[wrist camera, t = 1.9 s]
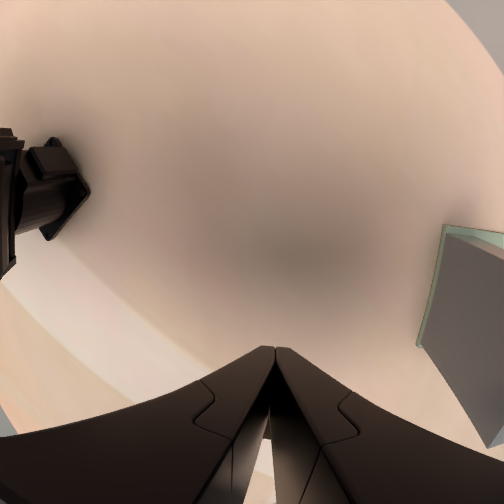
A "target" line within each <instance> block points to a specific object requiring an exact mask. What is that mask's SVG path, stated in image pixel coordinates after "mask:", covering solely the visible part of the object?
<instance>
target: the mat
mask: <svg viewBox="0 0 504 504" xmlns="http://www.w3.org/2000/svg"><path fill="white" fill-rule="evenodd" d="M446 233H451V234H458V235H466V236H473V237H477V238H480V239H482V240H484V241H487V242H489V243H491V244H494V245H496V246H498V247H500V248H503V249H504V234H503V233H497V232H491V231H485V230H478V229H472V228H465V227H458V226H451V225H444V224H443V229H442V235H441V242H440V248H439V253H438V258H437V264H436V269H435V273H434V278H433V283H432V287H431V291H430V295H429V299H428V303H427V307H426V311H425V315H424V318H423V322H422V325H421V329H420V332H419V335H418V339H417V342H416V346H417V347H418V348H423V347H422V345H421V344H420V342H421V339H422V336H423V332H424V329H425V326H426V322H427V319H428V315H429V312H430V308H431V304H432V300H433V296H434V292H435V288H436V284H437V279H438V275H439V270H440V265H441V260H442V255H443V249H444V244H445V238H446Z"/></svg>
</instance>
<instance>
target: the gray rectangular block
mask: <svg viewBox="0 0 504 504" xmlns="http://www.w3.org/2000/svg"><path fill="white" fill-rule="evenodd" d="M420 344H421V345H422V347H423V348H424V349H425V351H426V352H427V354H428V355H429V357H430V358H431V360H432V361H433V362H434V364H435V365H436V367H437V368H438V370H439V371H440V373H441V374H442V376H443V377H444V379H445V380H446V382H447V383H448V385H449V387H450V388H451V390H452V391H453V393H454V394H455V396H456V397H457V399H458V401H459V402H460V404H461V405H462V407H463V409H464V410H465V412H466V414H467V415H468V417H469V418H470V420H471V422H472V423H473V425H474V427H475V429H476V430H477V432H478V434H479V435H480V437H481V439H482V441H483V442H484V444H485V446H486V448H487V449H489V448H492V447H494V446H497V445H500V444H503V443H504V249H503V248H500V247H498V246H496V245H494V244H491V243H489V242H487V241H484V240H482V239H480V238H477V237H473V236H466V235H458V234H451V233H446V238H445V244H444V249H443V255H442V260H441V265H440V270H439V275H438V279H437V284H436V288H435V292H434V296H433V300H432V304H431V308H430V312H429V315H428V319H427V322H426V326H425V329H424V332H423V336H422V339H421V342H420Z"/></svg>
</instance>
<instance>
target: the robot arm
mask: <svg viewBox="0 0 504 504" xmlns="http://www.w3.org/2000/svg"><path fill="white" fill-rule="evenodd" d="M53 141H54V144H52V143H53ZM24 143H25V140H17V137H15V136H13V133H12V130H11V128H0V280H1V279H2V277H3V276H4V275H5V274H6V273H7V272H8V271H9V270H10V269H11V268H12V267H13V266H14V265H15V264H16V256H15V235H18V234H21V233H24V232H27V231H30V230H33V229H36V228H39V229H40V231H41V233H42V234H43V236H44V238H45V239H46V240H47V241H50V240H53V239H54V237H55V236H56V235H57V234H58V232H59V231H60V230H61V229H62V227H63V226H64V225H65V224H66V222H67V221H68V220H69V219H70V218H71V216H72V215H73V214H74V213H75V212H76V210H77V209H78V208H79V207H80V206H81V205H82V203H83V202H84V201H85V200H86V199H87V198H88V196H89V194H90V190H89V188H88V186H87V185H86V183H85V182H84V180H83V179H82V177H81V176H80V174H79V172H78V168H77V167H76V165H75V164H74V162H73V161H72V159H71V157H70V156H69V154H68V152H67V151H66V149H65V148H64V147H62V145H61V143H60V142H59V140H58V138H56V137H51V138H50V139H49V140H48V141H47V143H46V144H45V145H44V147H30V148H29V149H28V150H22V148H24ZM83 190H84V195H83V193H82V192H83ZM49 234H50V236H49ZM269 407H270V408H269ZM268 415H269V420H270V432H271V443H272V455H273V466H274V478H275V490H276V501H277V504H504V462H503V461H500V460H497V459H495V458H492V457H489V456H487V455H484V454H482V453H479V452H477V451H474V450H472V449H469V448H467V447H464V446H462V445H459V444H457V443H455V442H452V441H450V440H448V439H445V438H443V437H441V436H439V435H436V434H434V433H432V432H430V431H428V430H425V429H423V428H421V427H419V426H417V425H415V424H412V423H410V422H408V421H406V420H404V419H402V418H400V417H398V416H396V415H394V414H392V413H390V412H388V411H386V410H384V409H382V408H380V407H378V406H377V405H375V404H373V403H372V402H370V401H368V400H367V399H365V398H363V397H362V396H360V395H359V394H357V393H356V392H353V391H352V390H350V389H349V388H347V387H346V386H344V385H343V384H341V383H340V382H338V381H337V380H335V379H334V378H332V377H331V376H329V375H328V374H326V373H325V372H324V371H322V370H321V369H319V368H318V367H316V366H315V365H313V364H312V363H311V362H309V361H308V360H306V359H305V358H303V357H302V356H301V355H299V354H298V353H296V352H295V351H293V350H292V349H291V348H287V347H276V348H275V347H273V346H259V347H258V348H256V349H254V350H252V351H251V352H249V353H247V354H245V355H244V356H242V357H240V358H238V359H236V360H235V361H233V362H231V363H229V364H227V365H226V366H224V367H222V368H220V369H218V370H216V371H214V372H213V373H211V374H209V375H207V376H205V377H203V378H201V379H199V380H196V381H194V382H192V383H190V384H188V385H186V386H184V387H182V388H180V389H177V390H175V391H173V392H170V393H168V394H165V395H163V396H160V397H157V398H154V399H151V400H148V401H145V402H142V403H139V404H136V405H133V406H130V407H127V408H124V409H120V410H117V411H114V412H110V413H107V414H103V415H100V416H96V417H93V418H89V419H85V420H81V421H78V422H74V423H70V424H66V425H61V426H57V427H53V428H48V429H44V430H39V431H34V432H29V433H24V434H19V435H13V436H7V437H0V504H243V502H244V499H245V496H246V492H247V489H248V486H249V483H250V479H251V476H252V473H253V469H254V466H255V462H256V459H257V455H258V452H259V448H260V445H261V441H262V438H263V434H264V430H265V427H266V423H267V419H268Z"/></svg>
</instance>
